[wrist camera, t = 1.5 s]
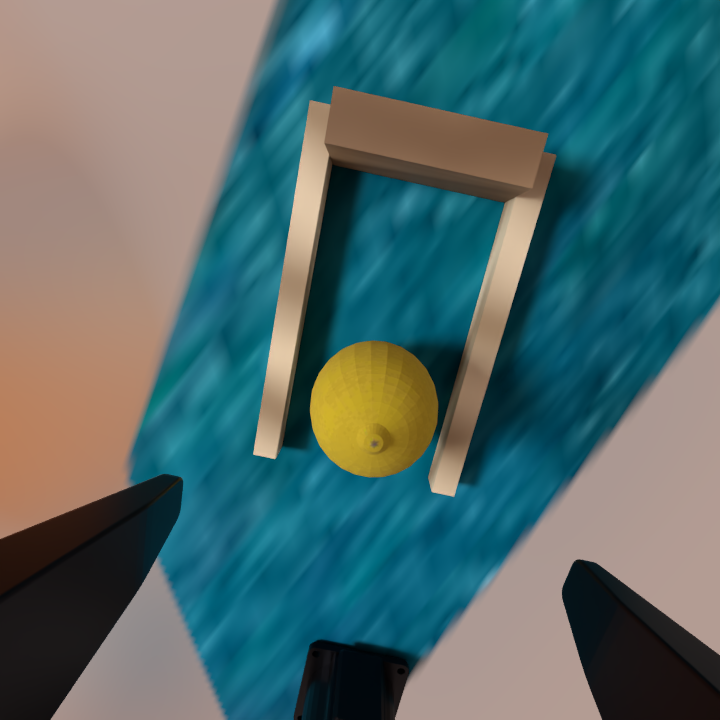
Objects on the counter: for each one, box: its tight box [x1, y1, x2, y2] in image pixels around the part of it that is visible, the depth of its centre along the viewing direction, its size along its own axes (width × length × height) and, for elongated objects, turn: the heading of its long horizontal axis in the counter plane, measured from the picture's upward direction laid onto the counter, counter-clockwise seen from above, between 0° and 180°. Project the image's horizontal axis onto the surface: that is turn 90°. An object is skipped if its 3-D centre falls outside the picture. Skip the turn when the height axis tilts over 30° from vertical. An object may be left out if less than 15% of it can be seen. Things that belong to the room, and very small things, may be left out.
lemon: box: [310, 341, 438, 477], centre depth 17 cm, size 6×6×8 cm
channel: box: [253, 86, 556, 496], centre depth 19 cm, size 17×11×4 cm, turn 168°
